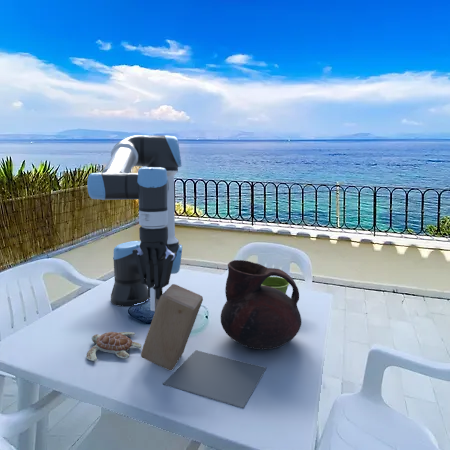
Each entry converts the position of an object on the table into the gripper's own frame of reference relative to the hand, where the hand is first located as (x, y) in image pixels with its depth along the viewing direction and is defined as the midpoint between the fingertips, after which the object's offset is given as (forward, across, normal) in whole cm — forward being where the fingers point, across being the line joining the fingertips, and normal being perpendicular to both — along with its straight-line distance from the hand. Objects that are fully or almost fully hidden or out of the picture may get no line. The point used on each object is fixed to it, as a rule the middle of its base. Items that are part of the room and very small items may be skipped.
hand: (155, 309), depth 103 cm
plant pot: (+16, +20, +48) cm, 55 cm away
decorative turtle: (+16, -16, 0) cm, 23 cm away
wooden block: (+14, +1, 0) cm, 14 cm away
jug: (+16, +23, +23) cm, 36 cm away
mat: (+16, +19, 0) cm, 24 cm away
